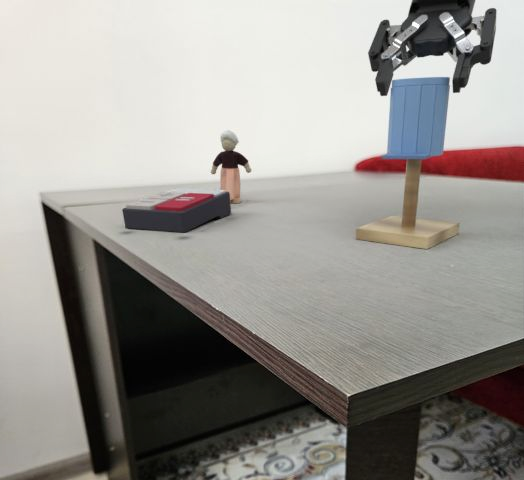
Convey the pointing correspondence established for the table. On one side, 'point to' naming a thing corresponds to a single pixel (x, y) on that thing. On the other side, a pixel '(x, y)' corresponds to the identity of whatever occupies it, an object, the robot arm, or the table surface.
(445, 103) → the blue ribbed waste bin
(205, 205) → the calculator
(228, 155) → the grandmother figurine
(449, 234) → the hat stand
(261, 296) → the table surface
